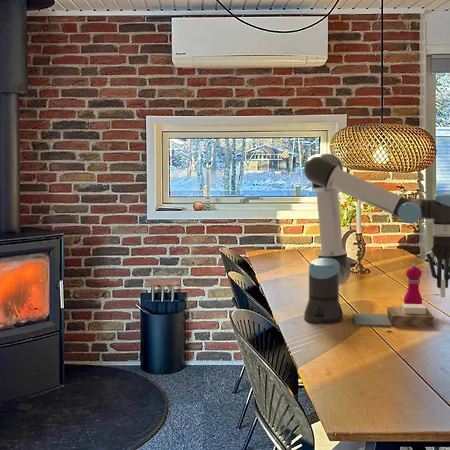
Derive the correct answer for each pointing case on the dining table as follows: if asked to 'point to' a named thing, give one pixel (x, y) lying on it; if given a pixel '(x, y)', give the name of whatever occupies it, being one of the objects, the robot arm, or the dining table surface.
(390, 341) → the dining table surface
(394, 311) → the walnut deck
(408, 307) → the ceramic tile
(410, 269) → the pepper mill
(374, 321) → the charcoal mat
